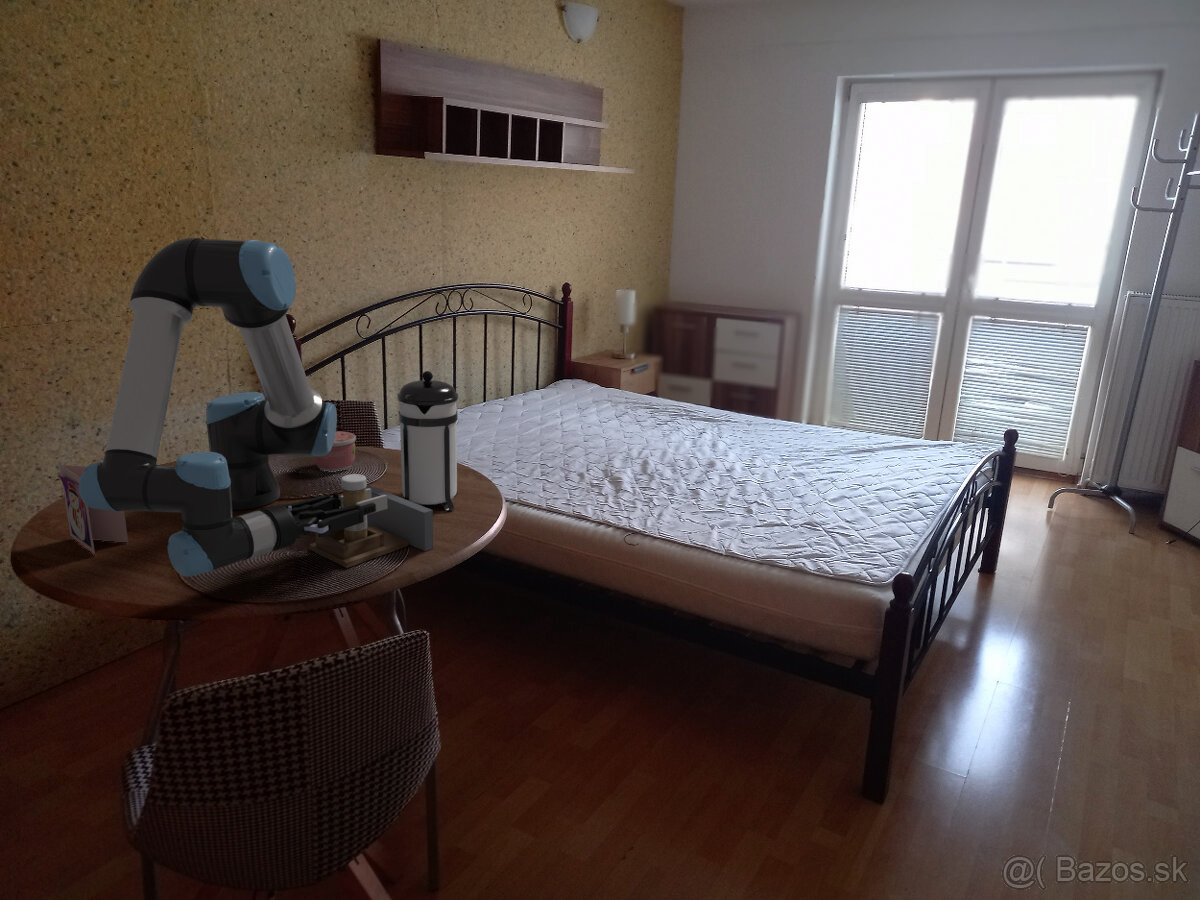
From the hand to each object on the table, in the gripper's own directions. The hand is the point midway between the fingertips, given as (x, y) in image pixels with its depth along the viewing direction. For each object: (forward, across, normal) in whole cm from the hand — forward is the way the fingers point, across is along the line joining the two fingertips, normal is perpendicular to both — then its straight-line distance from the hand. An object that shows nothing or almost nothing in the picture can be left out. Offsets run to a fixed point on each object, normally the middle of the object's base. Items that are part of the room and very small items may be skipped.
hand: (377, 498), depth 161 cm
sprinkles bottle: (-5, 0, -8) cm, 10 cm away
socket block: (-5, 0, -9) cm, 10 cm away
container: (+20, -45, -9) cm, 50 cm away
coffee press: (+22, -11, -9) cm, 26 cm away
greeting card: (-37, -36, -9) cm, 53 cm away
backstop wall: (+4, 0, -9) cm, 10 cm away
